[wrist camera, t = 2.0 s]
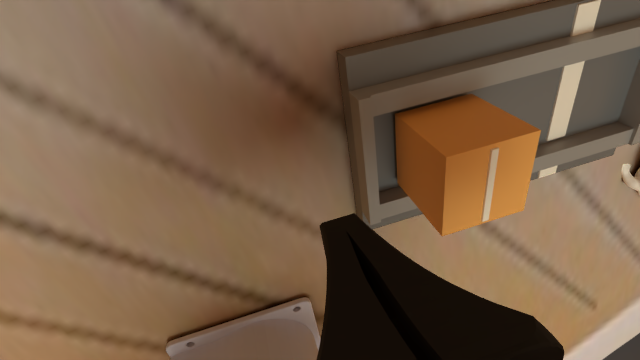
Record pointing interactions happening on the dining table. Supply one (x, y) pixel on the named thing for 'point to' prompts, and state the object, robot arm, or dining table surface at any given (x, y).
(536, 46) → the fader console
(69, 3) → the dining table surface
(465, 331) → the robot arm
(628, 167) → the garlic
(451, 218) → the fader tab
